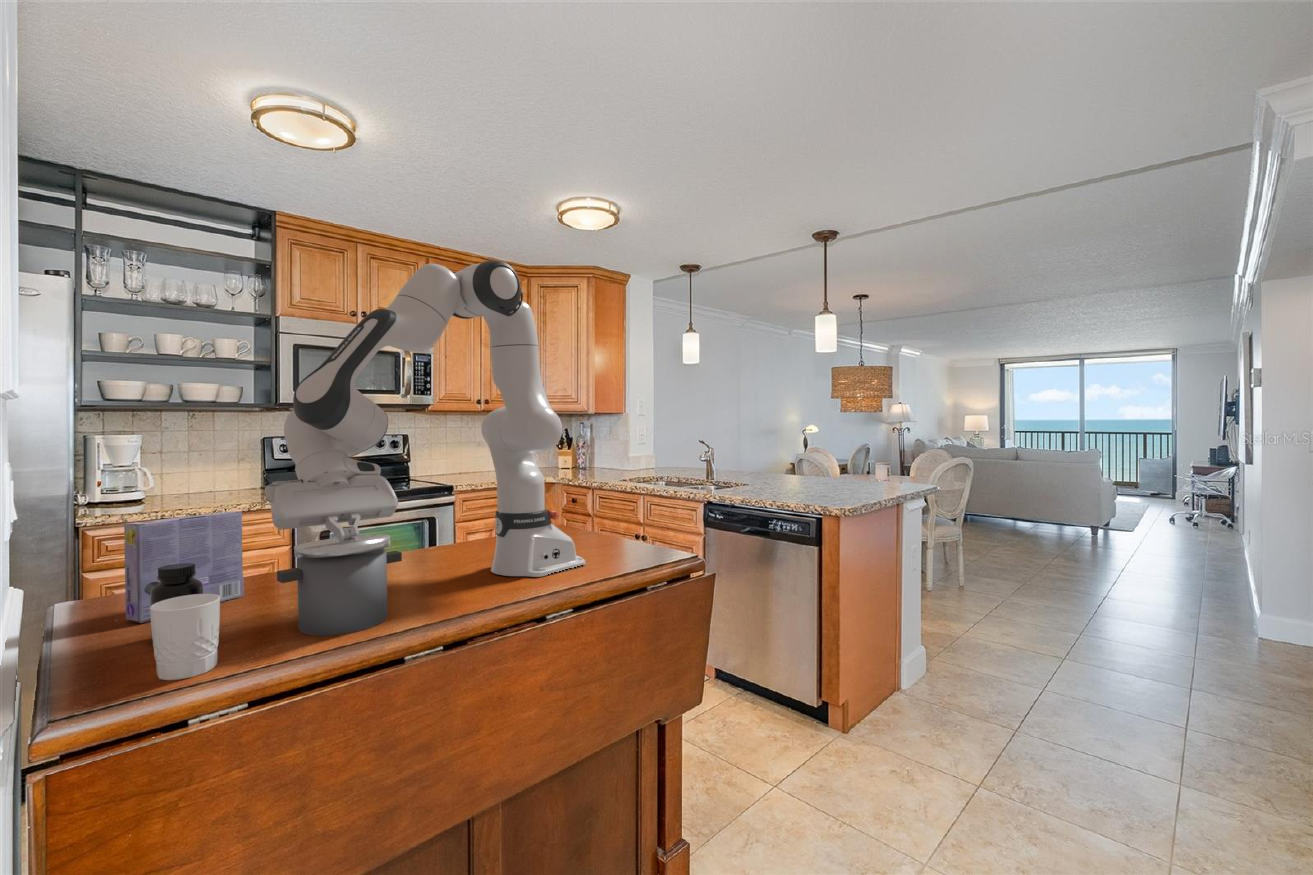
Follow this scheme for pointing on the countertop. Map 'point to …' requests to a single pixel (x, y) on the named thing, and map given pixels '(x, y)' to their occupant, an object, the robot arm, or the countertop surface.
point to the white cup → (185, 635)
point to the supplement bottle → (175, 583)
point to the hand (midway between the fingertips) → (349, 538)
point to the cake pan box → (183, 556)
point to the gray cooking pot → (341, 591)
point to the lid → (341, 546)
